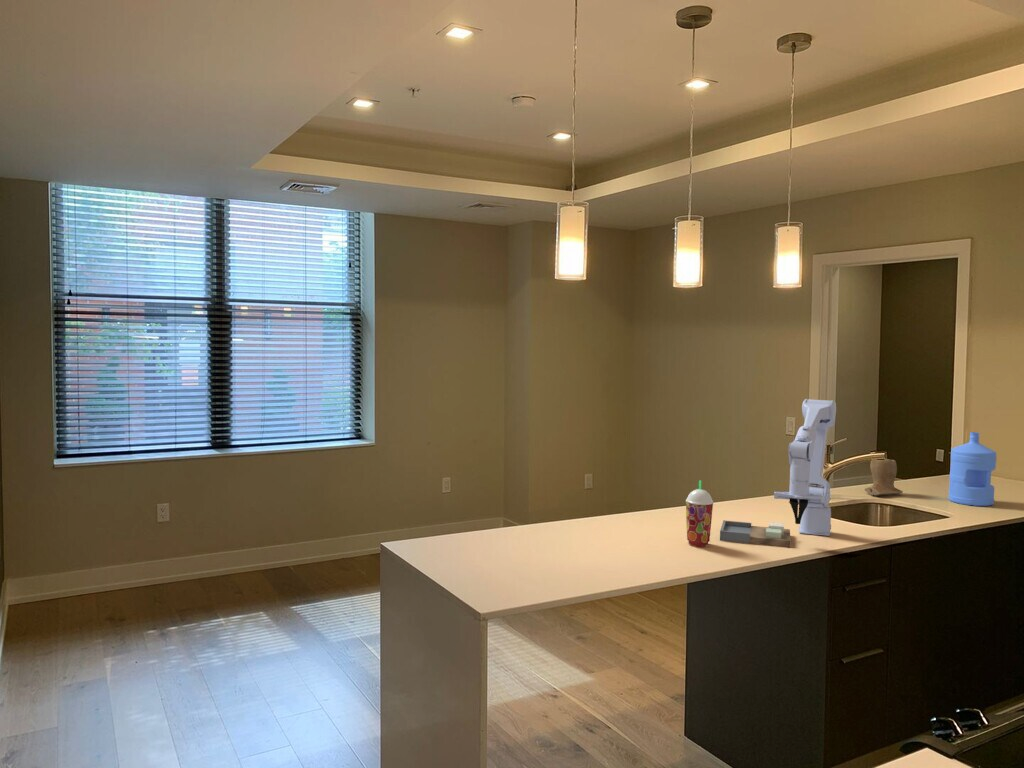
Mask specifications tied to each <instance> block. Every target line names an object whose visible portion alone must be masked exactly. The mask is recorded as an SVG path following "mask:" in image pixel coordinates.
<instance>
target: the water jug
mask: <svg viewBox="0 0 1024 768" xmlns="http://www.w3.org/2000/svg"><path fill="white" fill-rule="evenodd" d="M969 434H970V435H969V442H967V443H964V444H961V445H957V446H955V447H952V448H951V451H950V467H949V469H950V471H949V487H948V500H949V501H950V502H951V503H954V504H958V503H959V505H963V504H964V506H970V505H973V506H972V507H990V505H991V506H992V505H994V504H995V486H994V485H992V483H991V482H992V481H991V479H992V472H993V471H995V470H996V465H997V452H996V451H995V450H993V449H992V448H989V447H988V446H985V445H984V444H982V443H980V440H979V439H980V432H978V431H976V432H975V431H970V432H969Z"/></svg>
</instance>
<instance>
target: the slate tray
mask: <svg viewBox="0 0 1024 768" xmlns="http://www.w3.org/2000/svg"><path fill="white" fill-rule="evenodd" d="M751 526H752V522H746V521H734V520H722V523H721V527H720V530H719V541H721V542H722V541H723V542H731V543H733V542H734V543H742V544H743V543H744V544H751V543H750V532H751Z"/></svg>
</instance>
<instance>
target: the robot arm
mask: <svg viewBox="0 0 1024 768" xmlns="http://www.w3.org/2000/svg"><path fill="white" fill-rule="evenodd" d="M801 414H802V417H803V420H804V421H803V422H804V423H803V425H801V426H799V428H798V430H797V433H796V435H795V438H794V440H793V441H792V442H789V444H788V464H789V465H790V467H789V491H774V493H773V498H774V500H775V499H776V500H778V499H781V500H789V504H790V507H791V509H792V512H793V515H794V520H795V521H794V522H795V524H796V525H799V526H798V533H799V534H804V535H805V534H807V535H815V536H828V537H830V536H831V530H832V524H831V522H832V520H831V519H832V509H831V507H830V506H829V504H830V501H831V484H830V482H829V481H828V480H827V479H825V477H823V474H824V467H825V466H824V464H825V463H824V462H825V458H826V457H825V456H826V455H825V454H826V446H827V439H828V438H827V437H828V436H827V435H828V433H829V430H830V428H833V427H835V423H836V415H837V403H836V401H835V400H833V399H832V400H826V399H825V400H824V399H809V398H805V399H804V400H803V401H802V405H801Z"/></svg>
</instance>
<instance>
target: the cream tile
mask: <svg viewBox="0 0 1024 768" xmlns="http://www.w3.org/2000/svg"><path fill="white" fill-rule="evenodd" d="M784 525H785V524H784V523H780V522H768V527H769V529H780V530H781V534H782V535H784V529H785V528H784V527H785V526H784Z"/></svg>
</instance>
